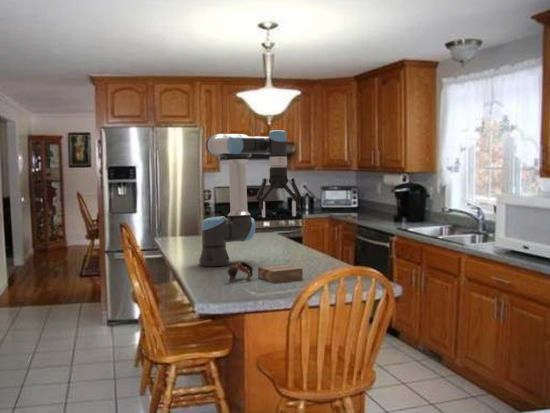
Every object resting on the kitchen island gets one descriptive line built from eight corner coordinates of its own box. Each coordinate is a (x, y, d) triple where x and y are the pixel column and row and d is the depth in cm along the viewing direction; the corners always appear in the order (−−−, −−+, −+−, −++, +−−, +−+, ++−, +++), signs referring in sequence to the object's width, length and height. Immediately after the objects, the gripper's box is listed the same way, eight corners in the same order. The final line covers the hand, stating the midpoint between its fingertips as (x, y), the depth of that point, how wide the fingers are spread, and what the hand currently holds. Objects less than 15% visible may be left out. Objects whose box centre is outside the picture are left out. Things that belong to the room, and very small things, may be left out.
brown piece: (237, 276, 248) (245, 260, 246) (250, 288, 242) (259, 272, 241) (219, 274, 238) (227, 258, 237) (232, 287, 233) (242, 270, 231)
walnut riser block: (258, 278, 245) (258, 267, 244) (286, 275, 251) (285, 264, 251) (273, 283, 232) (273, 271, 232) (302, 280, 239) (302, 268, 239)
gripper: (251, 167, 233) (252, 218, 234) (308, 166, 240) (309, 216, 241) (247, 167, 240) (248, 216, 241) (303, 166, 247) (303, 215, 248)
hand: (278, 216), depth 241 cm, fingers open, 13 cm apart
